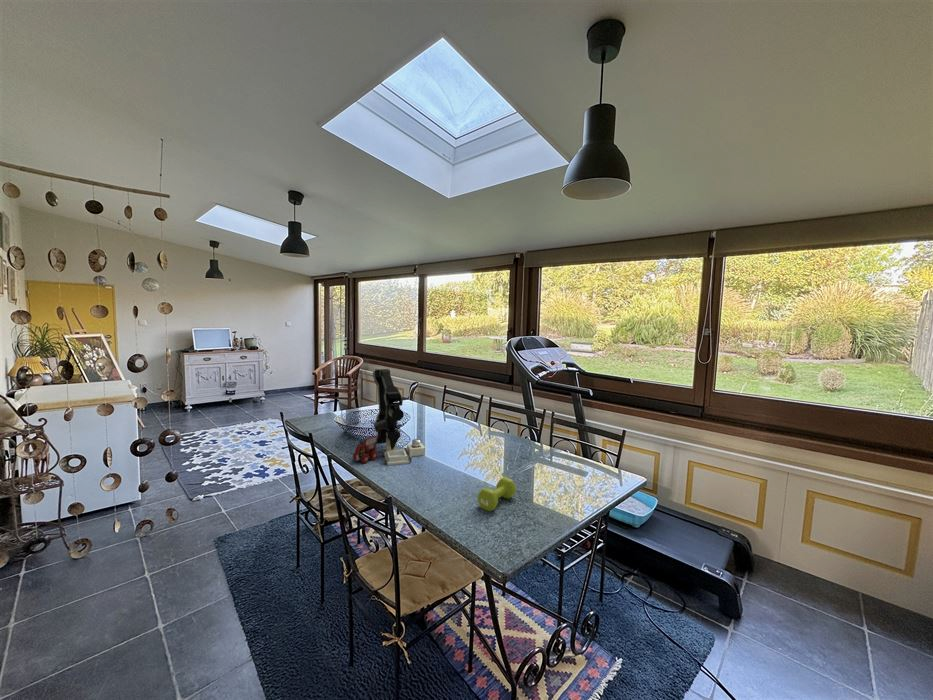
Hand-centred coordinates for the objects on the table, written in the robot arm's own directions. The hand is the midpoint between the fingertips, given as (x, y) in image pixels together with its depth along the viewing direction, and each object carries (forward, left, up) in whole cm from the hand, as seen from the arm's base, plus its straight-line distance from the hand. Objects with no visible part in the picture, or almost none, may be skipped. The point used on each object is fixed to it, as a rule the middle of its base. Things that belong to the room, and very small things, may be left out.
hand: (390, 446), depth 178 cm
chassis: (+11, +1, -2) cm, 11 cm away
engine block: (0, 0, -2) cm, 2 cm away
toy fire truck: (+9, -13, -3) cm, 16 cm away
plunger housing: (+6, +12, -2) cm, 13 cm away
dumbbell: (+61, +30, -3) cm, 68 cm away
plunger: (+6, +11, +1) cm, 13 cm away
